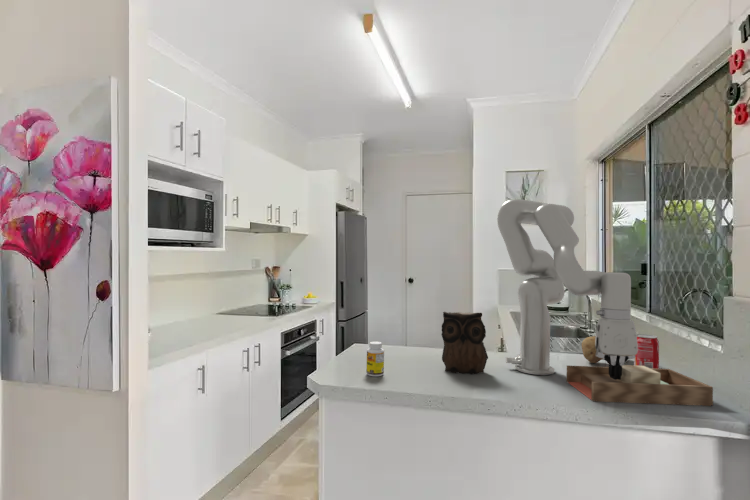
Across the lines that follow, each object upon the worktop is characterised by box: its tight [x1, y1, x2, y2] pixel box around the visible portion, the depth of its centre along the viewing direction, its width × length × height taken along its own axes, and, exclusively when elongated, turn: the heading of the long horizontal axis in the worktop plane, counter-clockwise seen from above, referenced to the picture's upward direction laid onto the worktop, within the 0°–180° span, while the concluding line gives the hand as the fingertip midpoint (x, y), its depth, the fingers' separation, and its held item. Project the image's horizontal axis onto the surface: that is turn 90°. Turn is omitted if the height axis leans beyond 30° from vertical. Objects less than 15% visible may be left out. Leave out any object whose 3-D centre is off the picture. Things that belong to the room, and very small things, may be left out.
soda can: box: [633, 333, 660, 369], centre depth 142 cm, size 7×7×13 cm
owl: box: [441, 311, 489, 375], centre depth 142 cm, size 13×13×20 cm
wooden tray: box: [566, 365, 714, 407], centre depth 122 cm, size 31×18×5 cm, turn 87°
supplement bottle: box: [365, 341, 385, 378], centre depth 135 cm, size 6×6×10 cm
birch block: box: [620, 364, 661, 384], centre depth 122 cm, size 8×8×4 cm
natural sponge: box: [581, 335, 604, 364], centre depth 156 cm, size 9×9×10 cm
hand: (615, 378), depth 122 cm, fingers closed
